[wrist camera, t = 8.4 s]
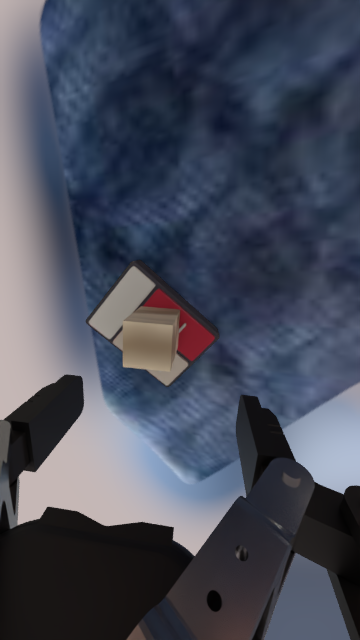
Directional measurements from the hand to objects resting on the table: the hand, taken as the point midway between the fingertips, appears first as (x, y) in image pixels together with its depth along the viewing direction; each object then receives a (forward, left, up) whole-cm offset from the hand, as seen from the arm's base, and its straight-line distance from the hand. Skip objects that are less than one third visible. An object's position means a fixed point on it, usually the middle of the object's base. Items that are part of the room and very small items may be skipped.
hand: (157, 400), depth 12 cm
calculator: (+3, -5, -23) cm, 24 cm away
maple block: (+2, -3, -18) cm, 19 cm away
